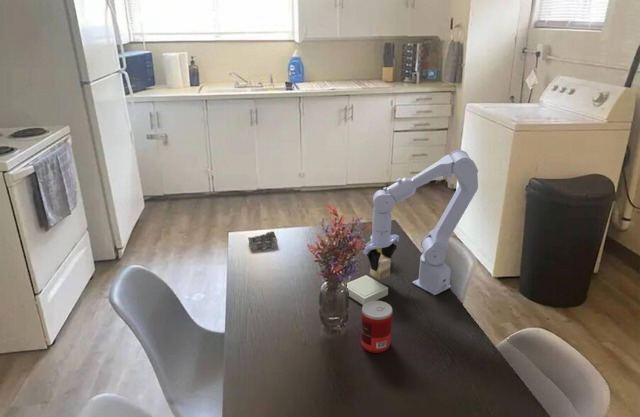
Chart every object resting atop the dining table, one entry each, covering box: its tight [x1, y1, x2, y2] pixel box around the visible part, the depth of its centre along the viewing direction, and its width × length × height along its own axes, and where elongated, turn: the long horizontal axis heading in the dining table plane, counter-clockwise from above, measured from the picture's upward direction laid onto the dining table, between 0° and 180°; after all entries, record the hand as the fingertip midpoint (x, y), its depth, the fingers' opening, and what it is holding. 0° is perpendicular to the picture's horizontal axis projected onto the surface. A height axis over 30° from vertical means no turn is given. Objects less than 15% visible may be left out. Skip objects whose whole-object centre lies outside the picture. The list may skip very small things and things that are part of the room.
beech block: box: [369, 254, 392, 280], centre depth 151 cm, size 4×4×6 cm
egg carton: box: [247, 231, 278, 251], centre depth 179 cm, size 11×8×4 cm
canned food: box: [360, 300, 393, 354], centre depth 123 cm, size 8×8×11 cm
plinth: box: [346, 274, 389, 306], centre depth 147 cm, size 10×10×3 cm
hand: (379, 267), depth 152 cm, fingers closed on beech block, 4 cm apart
